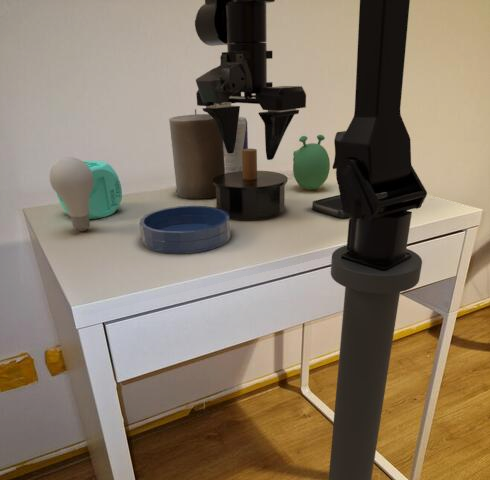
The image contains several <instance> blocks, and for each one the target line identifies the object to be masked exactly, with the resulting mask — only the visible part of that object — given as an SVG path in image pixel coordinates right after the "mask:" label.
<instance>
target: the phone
mask: <svg viewBox="0 0 490 480" xmlns="http://www.w3.org/2000/svg"><path fill="white" fill-rule="evenodd" d="M376 196H377V198H382V197H387V192H386V193H382V194H378V195H376ZM311 203H312V204H311V209H312V210H313V211H316V212H319V213H323V214H325V215H328V216H329V215H330V216H332V217H335V218H340V219H346V218H351V215H350V214H347V213H344V212H343V209H342V203H341V197H340V194H338V195H333V196H329V197H324V198H321V199H316V200H313V201H312V202H311Z"/></svg>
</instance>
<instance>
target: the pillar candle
mask: <svg viewBox="0 0 490 480" xmlns="http://www.w3.org/2000/svg"><path fill="white" fill-rule="evenodd" d="M168 121H169V131H170V140H171V148H172V149H171V150H172V159H173V170H174V176H175V186H176V194H177V196H178V197H180V198H182V199H191V200H199V199H202V200H203V199H213V198H216V186H215V185H213V178H215V177H216V176H218V175H221V174H225V166H224V149H223V139H222V136H221V134H220V131H219V128H218V126H217V124H216V122H215V120H214V118H213V117H212V116H210V115H209V114H208V113H198V114H197V109H196V108H195V109H194V114H187V115H185V114H184V115H177V116H172V117H170V118H169V119H168Z"/></svg>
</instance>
